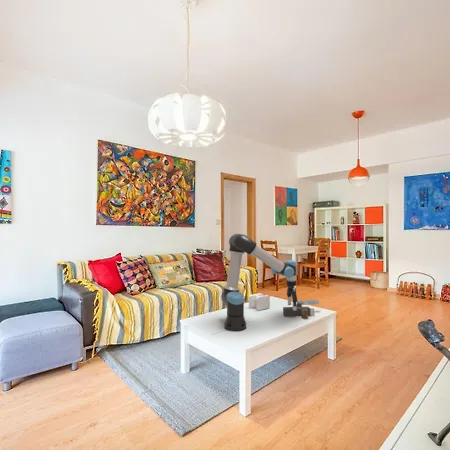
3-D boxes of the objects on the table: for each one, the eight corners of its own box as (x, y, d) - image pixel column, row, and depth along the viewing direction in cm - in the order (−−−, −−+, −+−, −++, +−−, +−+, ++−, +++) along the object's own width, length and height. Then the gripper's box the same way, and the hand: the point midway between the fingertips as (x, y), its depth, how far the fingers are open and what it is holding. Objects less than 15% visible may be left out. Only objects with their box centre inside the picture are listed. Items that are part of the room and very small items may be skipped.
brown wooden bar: (302, 318, 214) (302, 310, 214) (295, 311, 231) (295, 304, 231) (308, 318, 214) (307, 310, 214) (300, 311, 231) (300, 304, 231)
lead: (284, 316, 219) (284, 309, 219) (283, 314, 224) (283, 307, 224) (314, 316, 220) (314, 308, 220) (311, 314, 225) (311, 306, 225)
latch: (318, 304, 229) (318, 300, 229) (297, 305, 228) (297, 301, 228) (317, 303, 232) (317, 299, 232) (296, 303, 231) (296, 300, 231)
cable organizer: (256, 311, 232) (256, 297, 232) (248, 308, 241) (248, 294, 241) (270, 308, 240) (270, 294, 240) (261, 305, 249) (261, 292, 249)
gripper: (282, 277, 234) (283, 303, 234) (291, 284, 209) (291, 312, 209) (291, 277, 234) (292, 302, 235) (301, 283, 209) (301, 312, 210)
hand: (292, 307), depth 222 cm, fingers open, 13 cm apart
